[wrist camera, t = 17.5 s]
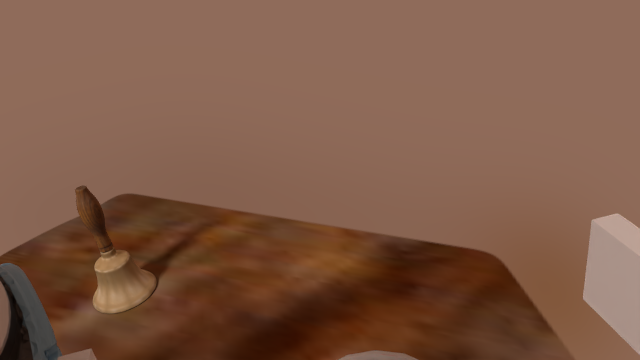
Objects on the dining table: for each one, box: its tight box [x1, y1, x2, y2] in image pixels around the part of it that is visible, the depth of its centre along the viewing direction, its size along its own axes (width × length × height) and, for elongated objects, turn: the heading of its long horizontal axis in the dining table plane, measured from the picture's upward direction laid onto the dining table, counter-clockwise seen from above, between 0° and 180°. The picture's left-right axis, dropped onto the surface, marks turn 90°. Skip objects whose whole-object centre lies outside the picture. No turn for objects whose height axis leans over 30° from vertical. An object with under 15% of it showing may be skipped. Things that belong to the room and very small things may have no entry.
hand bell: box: [75, 186, 157, 314], centre depth 66 cm, size 8×8×16 cm
